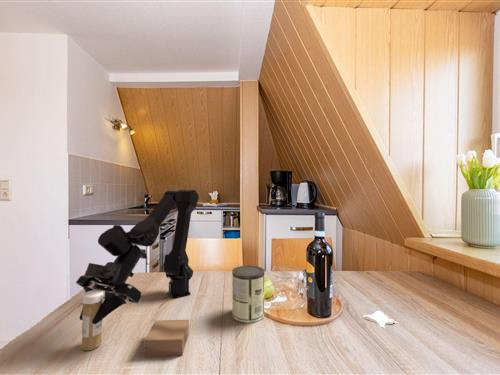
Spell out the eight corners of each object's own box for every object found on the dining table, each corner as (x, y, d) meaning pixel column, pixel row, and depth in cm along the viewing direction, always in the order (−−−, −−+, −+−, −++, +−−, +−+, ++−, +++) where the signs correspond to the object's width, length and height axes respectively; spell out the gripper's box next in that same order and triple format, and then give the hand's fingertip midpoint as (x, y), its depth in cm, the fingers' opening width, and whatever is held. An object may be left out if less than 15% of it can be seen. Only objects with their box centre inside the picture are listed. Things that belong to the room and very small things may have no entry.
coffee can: (240, 304, 89) (241, 263, 89) (269, 310, 85) (269, 267, 85) (225, 318, 80) (226, 272, 80) (256, 326, 76) (256, 278, 76)
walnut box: (155, 335, 71) (155, 320, 71) (188, 334, 71) (188, 319, 71) (143, 356, 62) (144, 340, 62) (182, 355, 63) (182, 338, 62)
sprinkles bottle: (102, 347, 65) (104, 294, 65) (81, 353, 63) (82, 298, 63) (101, 338, 69) (102, 287, 69) (80, 343, 67) (82, 291, 66)
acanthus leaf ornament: (362, 320, 81) (362, 314, 81) (375, 314, 84) (375, 309, 84) (385, 331, 74) (385, 325, 74) (398, 325, 78) (398, 319, 78)
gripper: (82, 246, 73) (37, 301, 63) (132, 253, 65) (90, 317, 56) (107, 265, 80) (71, 318, 70) (155, 274, 73) (121, 334, 63)
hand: (87, 321), depth 65 cm, fingers closed on sprinkles bottle, 4 cm apart
